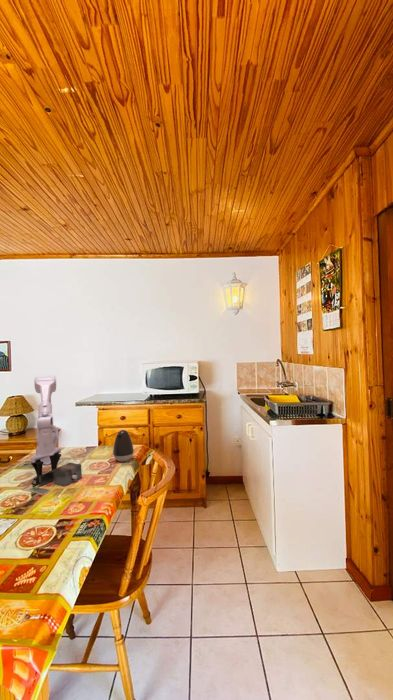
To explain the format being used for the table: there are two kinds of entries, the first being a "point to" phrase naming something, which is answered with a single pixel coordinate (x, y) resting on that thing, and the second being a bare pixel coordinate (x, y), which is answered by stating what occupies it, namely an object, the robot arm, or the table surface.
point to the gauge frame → (60, 477)
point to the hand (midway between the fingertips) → (46, 473)
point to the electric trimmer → (35, 481)
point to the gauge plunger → (49, 478)
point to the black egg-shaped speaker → (123, 446)
